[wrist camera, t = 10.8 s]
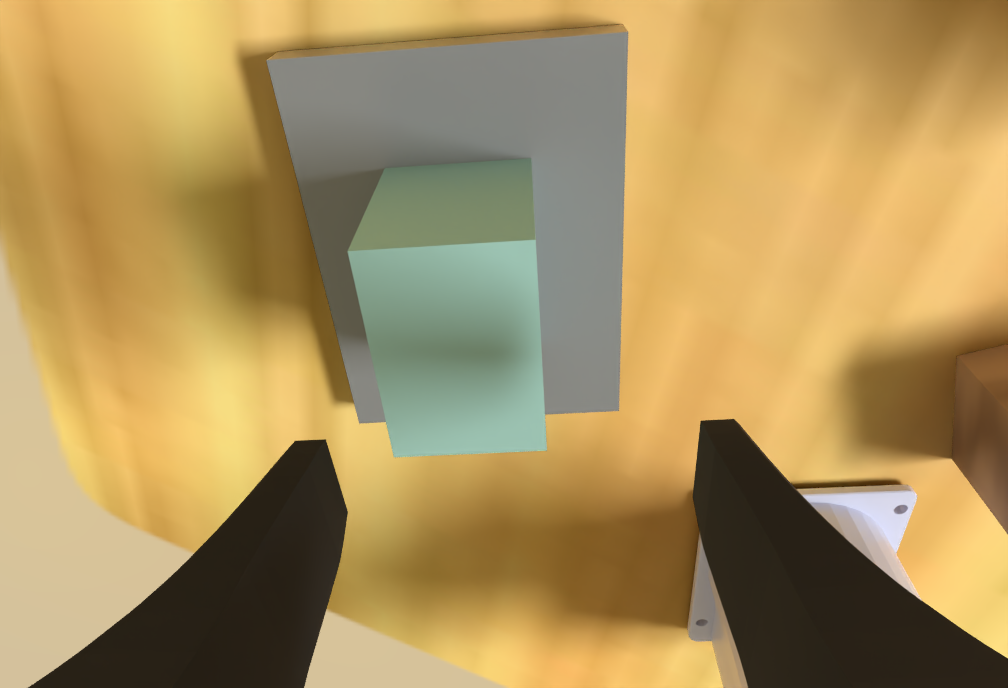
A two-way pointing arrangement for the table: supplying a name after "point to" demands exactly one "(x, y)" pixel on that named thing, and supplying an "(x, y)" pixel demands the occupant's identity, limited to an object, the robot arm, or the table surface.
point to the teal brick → (454, 307)
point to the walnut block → (983, 426)
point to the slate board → (475, 138)
